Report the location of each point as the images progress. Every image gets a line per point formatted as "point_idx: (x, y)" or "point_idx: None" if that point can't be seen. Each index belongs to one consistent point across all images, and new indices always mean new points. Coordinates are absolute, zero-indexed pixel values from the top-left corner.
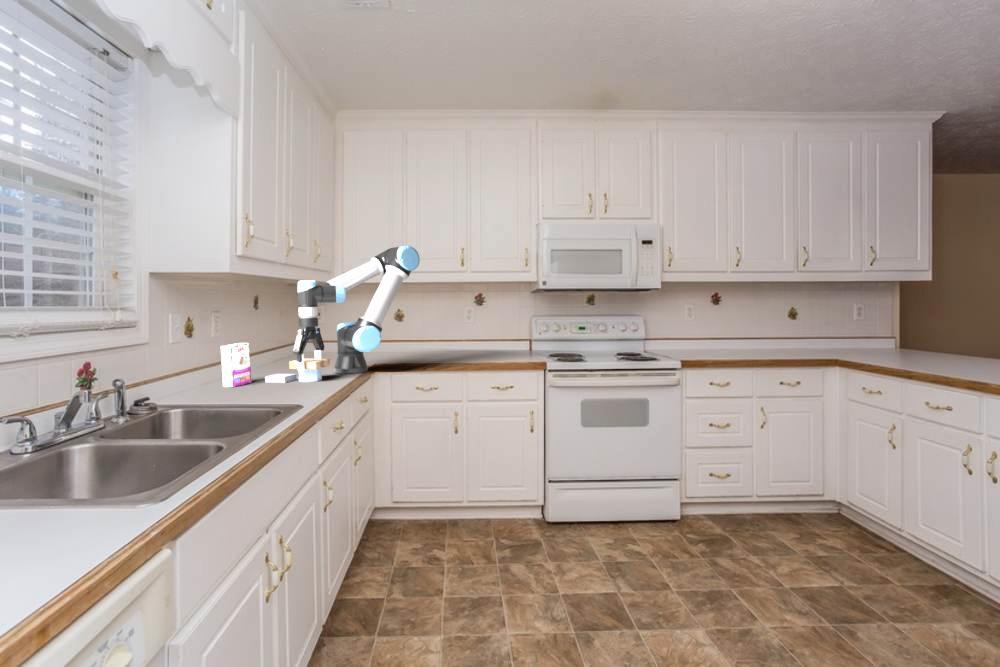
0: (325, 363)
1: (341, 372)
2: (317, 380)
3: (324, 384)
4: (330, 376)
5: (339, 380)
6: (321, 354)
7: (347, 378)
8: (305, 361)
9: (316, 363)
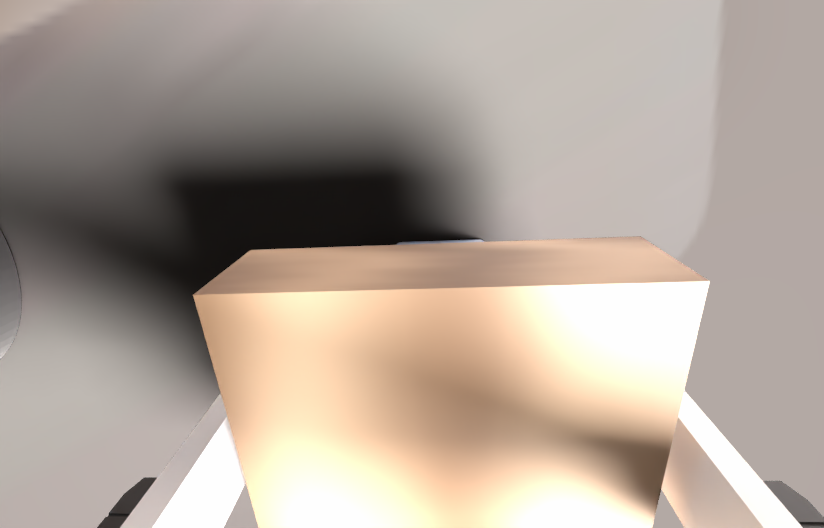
0: (360, 264)
1: (6, 265)
2: (481, 241)
3: (689, 35)
4: (193, 275)
5: (391, 22)
6: (135, 511)
7: (235, 8)
8: (614, 475)
9: (672, 270)
